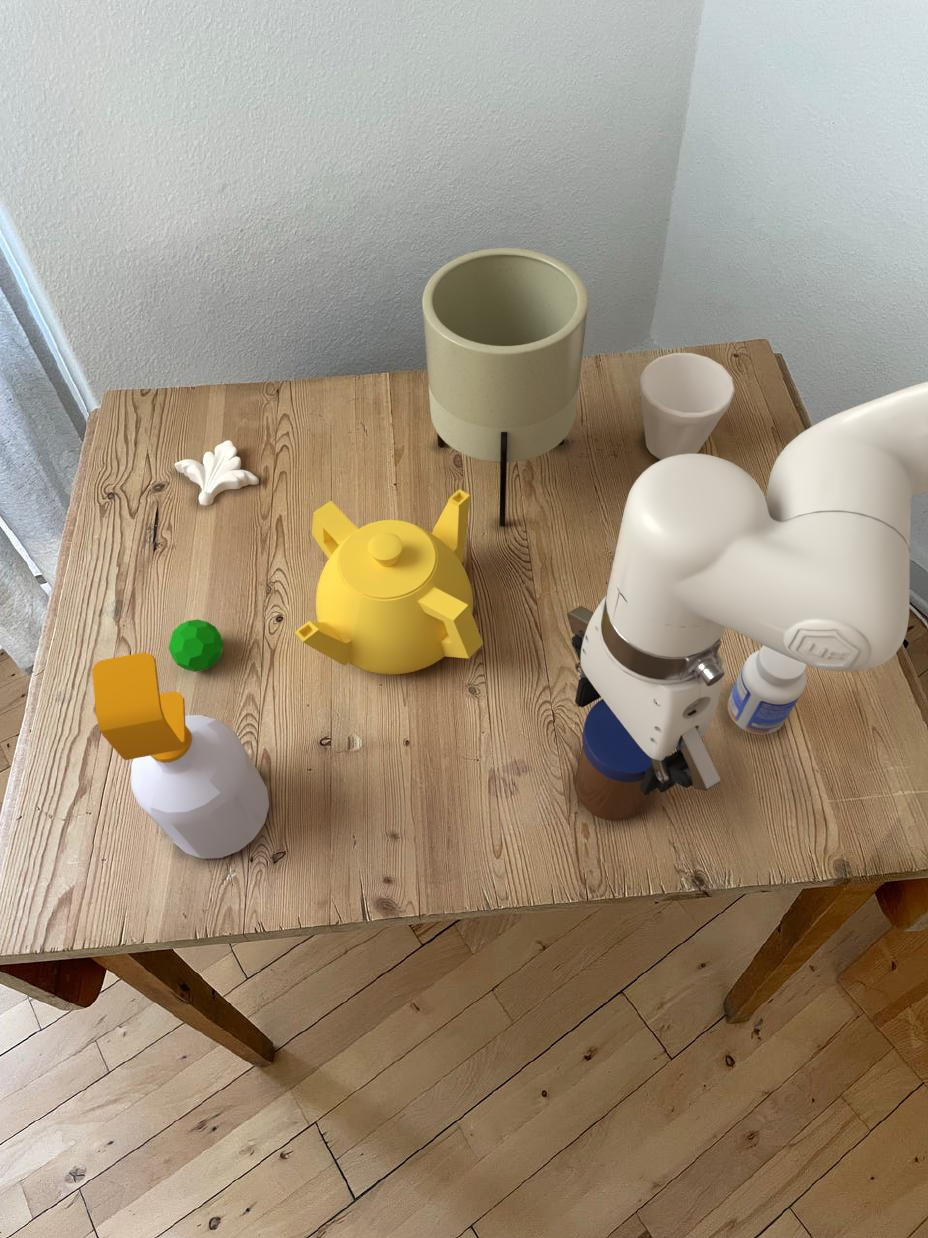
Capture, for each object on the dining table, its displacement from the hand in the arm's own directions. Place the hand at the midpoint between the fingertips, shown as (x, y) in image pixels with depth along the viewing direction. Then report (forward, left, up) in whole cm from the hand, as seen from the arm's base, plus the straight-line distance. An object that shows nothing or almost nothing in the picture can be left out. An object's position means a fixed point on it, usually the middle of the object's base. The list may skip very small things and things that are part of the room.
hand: (624, 738), depth 70 cm
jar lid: (0, 0, +1) cm, 1 cm away
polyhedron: (+41, -4, -10) cm, 43 cm away
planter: (+18, -35, -10) cm, 41 cm away
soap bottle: (+33, +11, -10) cm, 36 cm away
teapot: (+24, -13, -10) cm, 29 cm away
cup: (0, -43, -10) cm, 44 cm away
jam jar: (0, 0, -10) cm, 10 cm away
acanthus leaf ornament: (+49, -26, -10) cm, 57 cm away
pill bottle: (-12, -11, -10) cm, 19 cm away
